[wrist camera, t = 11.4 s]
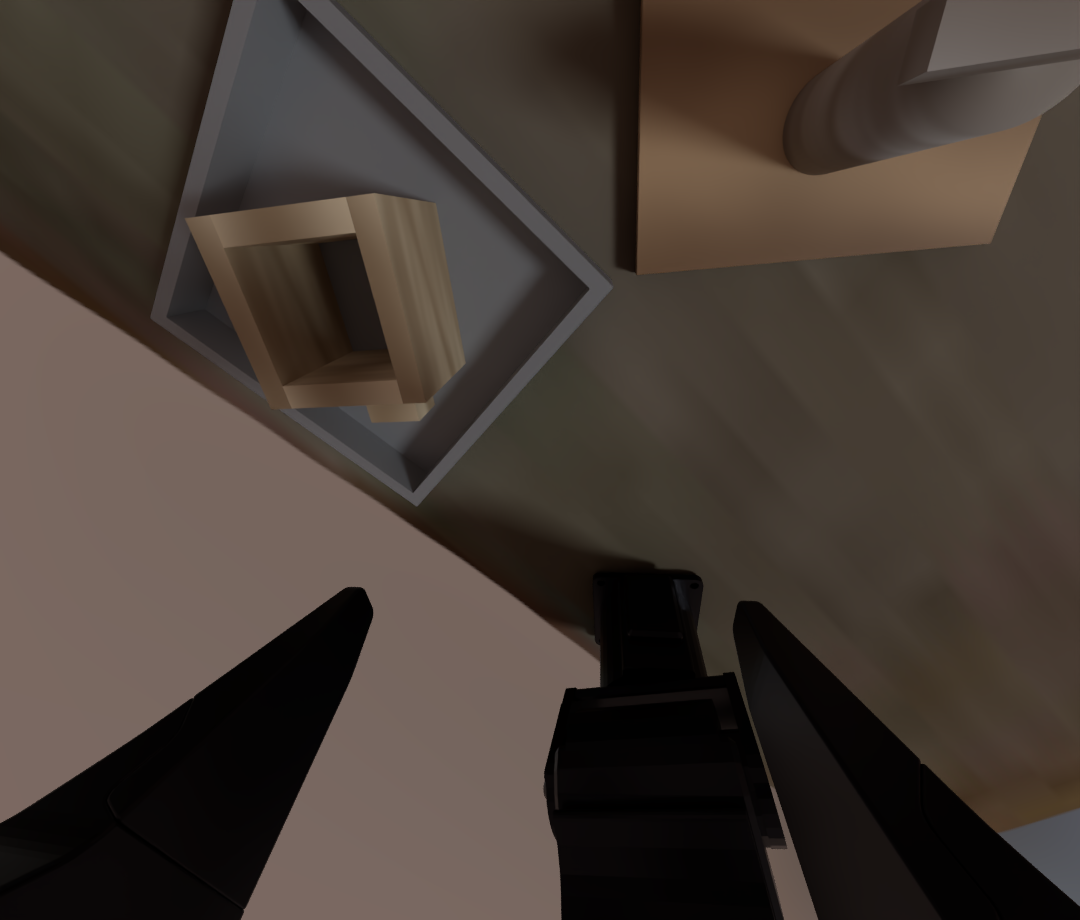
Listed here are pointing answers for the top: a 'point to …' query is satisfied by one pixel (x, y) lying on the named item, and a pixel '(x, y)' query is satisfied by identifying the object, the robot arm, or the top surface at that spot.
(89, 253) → the top surface
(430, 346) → the hollow wooden box
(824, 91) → the stake block
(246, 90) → the slate tray
